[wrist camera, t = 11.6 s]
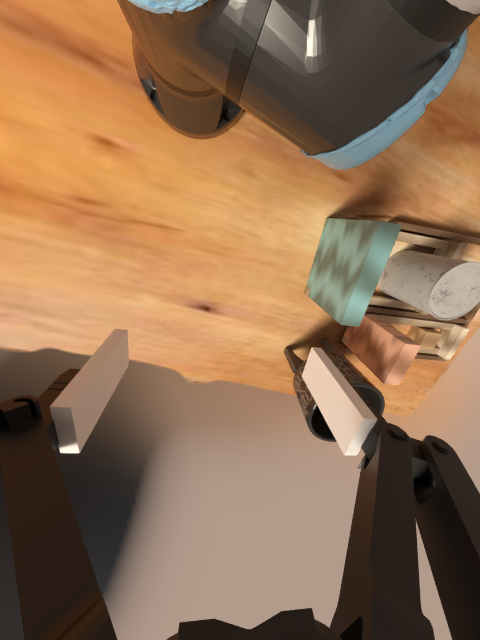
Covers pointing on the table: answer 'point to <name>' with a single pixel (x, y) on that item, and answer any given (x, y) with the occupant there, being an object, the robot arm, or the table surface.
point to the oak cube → (424, 336)
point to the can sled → (360, 266)
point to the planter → (306, 399)
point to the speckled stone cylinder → (432, 283)
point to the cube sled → (397, 343)
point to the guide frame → (461, 320)
